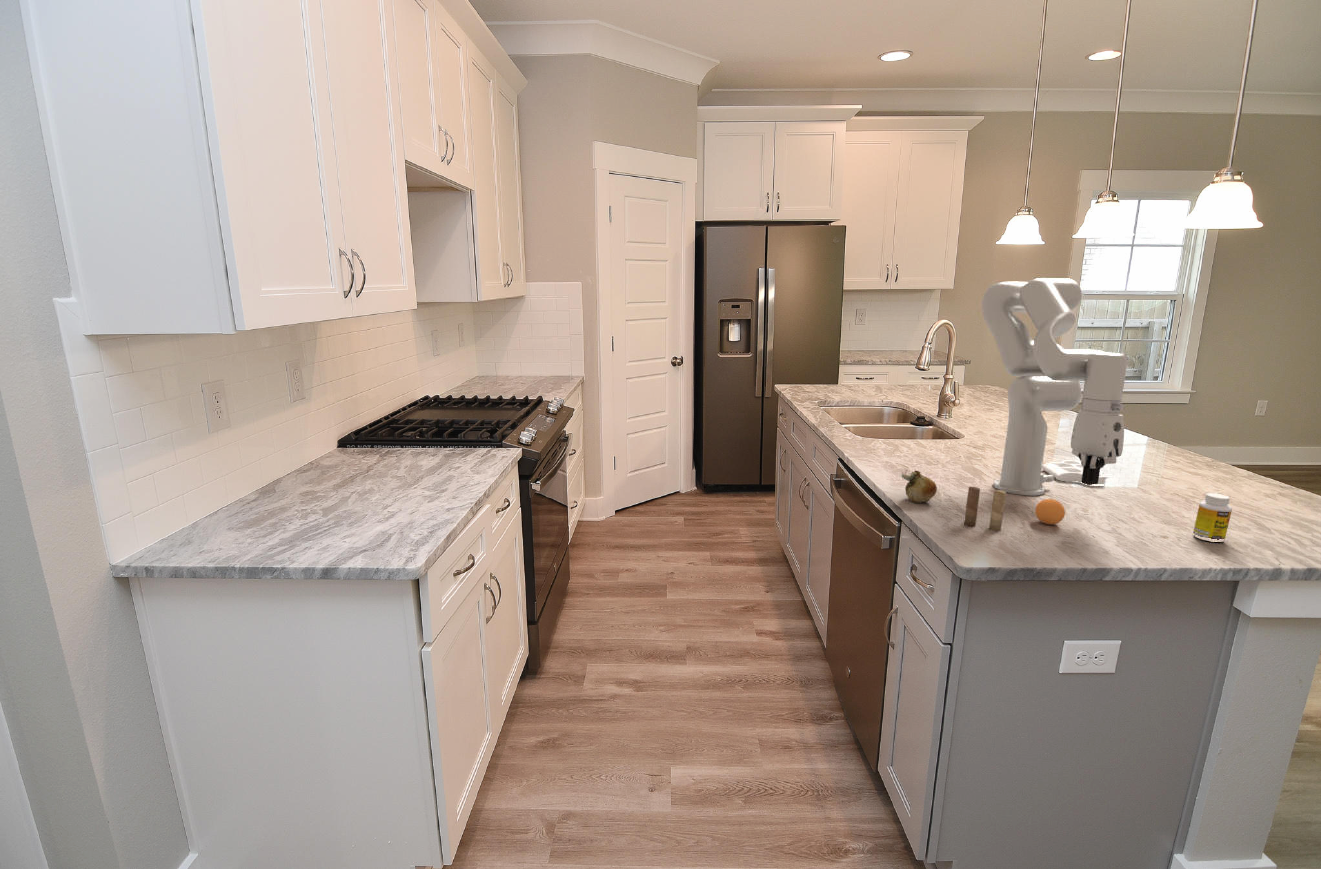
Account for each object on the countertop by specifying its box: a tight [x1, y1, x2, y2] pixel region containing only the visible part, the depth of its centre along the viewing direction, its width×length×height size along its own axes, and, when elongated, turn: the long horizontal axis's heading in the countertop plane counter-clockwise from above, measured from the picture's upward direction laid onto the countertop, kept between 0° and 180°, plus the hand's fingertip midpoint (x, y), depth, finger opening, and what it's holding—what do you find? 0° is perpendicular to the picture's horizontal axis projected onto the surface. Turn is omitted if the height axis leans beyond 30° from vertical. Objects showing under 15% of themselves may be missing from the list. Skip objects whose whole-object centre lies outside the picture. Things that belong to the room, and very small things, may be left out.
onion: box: [901, 469, 938, 504], centre depth 167 cm, size 8×8×8 cm
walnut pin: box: [963, 486, 981, 528], centre depth 150 cm, size 2×2×9 cm
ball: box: [1034, 498, 1066, 525], centre depth 152 cm, size 6×6×6 cm
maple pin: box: [988, 489, 1007, 532], centre depth 148 cm, size 2×2×9 cm
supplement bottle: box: [1192, 492, 1233, 540], centre depth 144 cm, size 6×6×10 cm
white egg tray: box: [1042, 460, 1109, 485], centre depth 191 cm, size 3×18×15 cm
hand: (1089, 483), depth 152 cm, fingers closed
